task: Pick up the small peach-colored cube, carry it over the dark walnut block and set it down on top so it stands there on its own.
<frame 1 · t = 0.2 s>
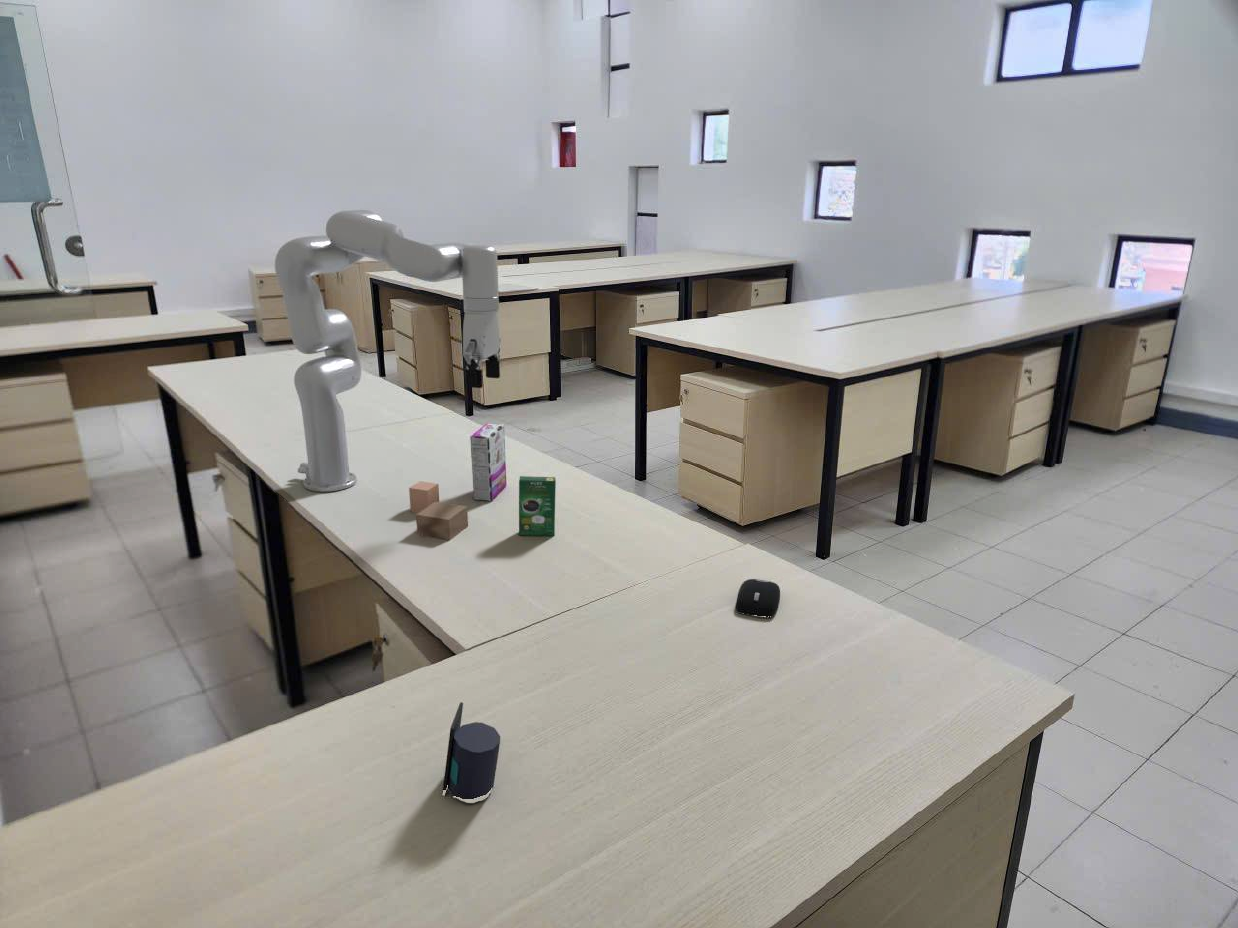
hand: (484, 382, 182), 30 cm above the table, tool pointing down, fingers open, 9 cm apart
peach-colored cube: (425, 509, 191), on the table
speaker: (473, 787, 105), on the table
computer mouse: (758, 604, 152), on the table
walnut block: (443, 531, 180), on the table
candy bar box: (489, 494, 202), on the table
coffee box: (537, 534, 179), on the table
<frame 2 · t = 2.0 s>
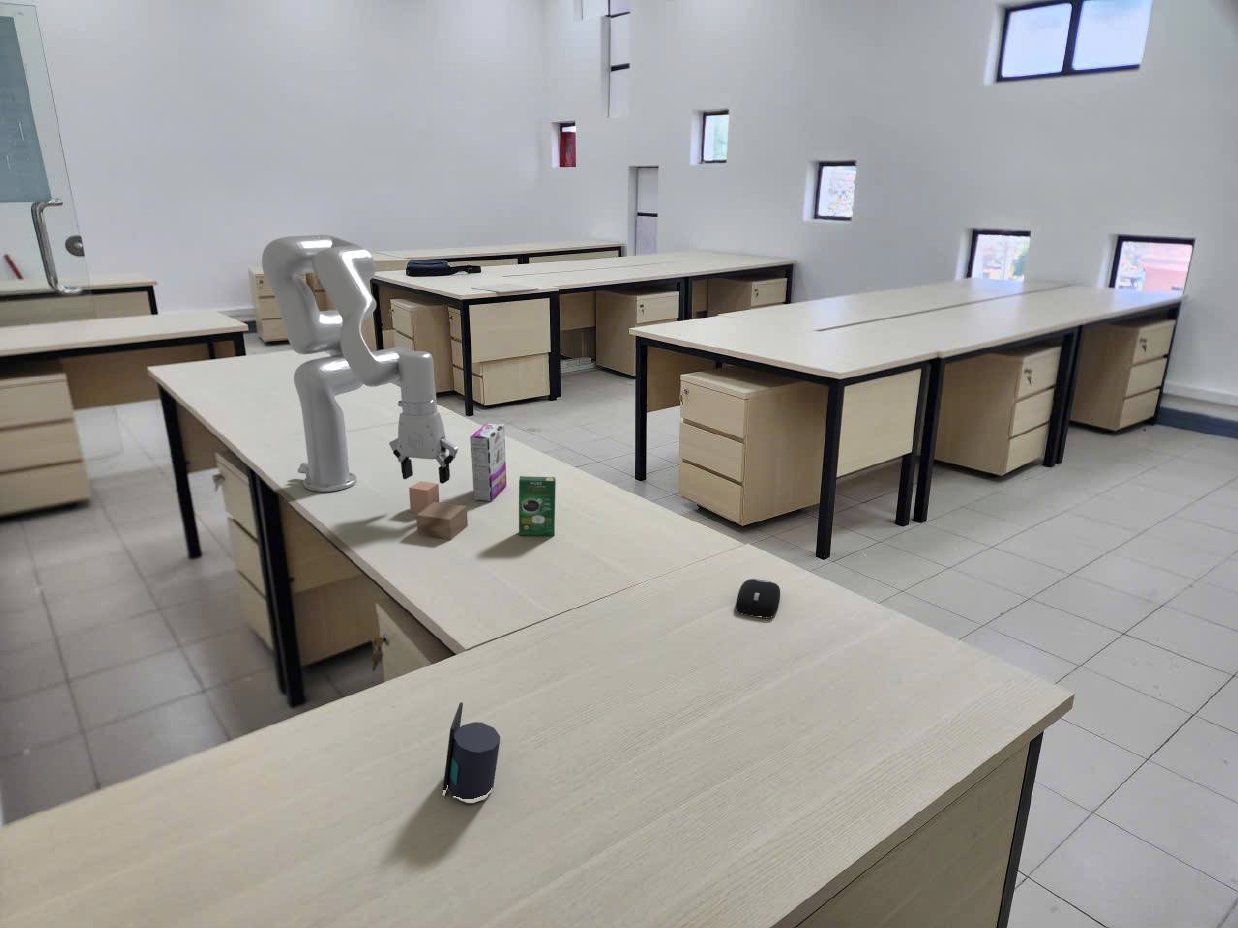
hand: (426, 479, 188), 8 cm above the table, tool pointing down, fingers open, 9 cm apart
nothing on the table moved.
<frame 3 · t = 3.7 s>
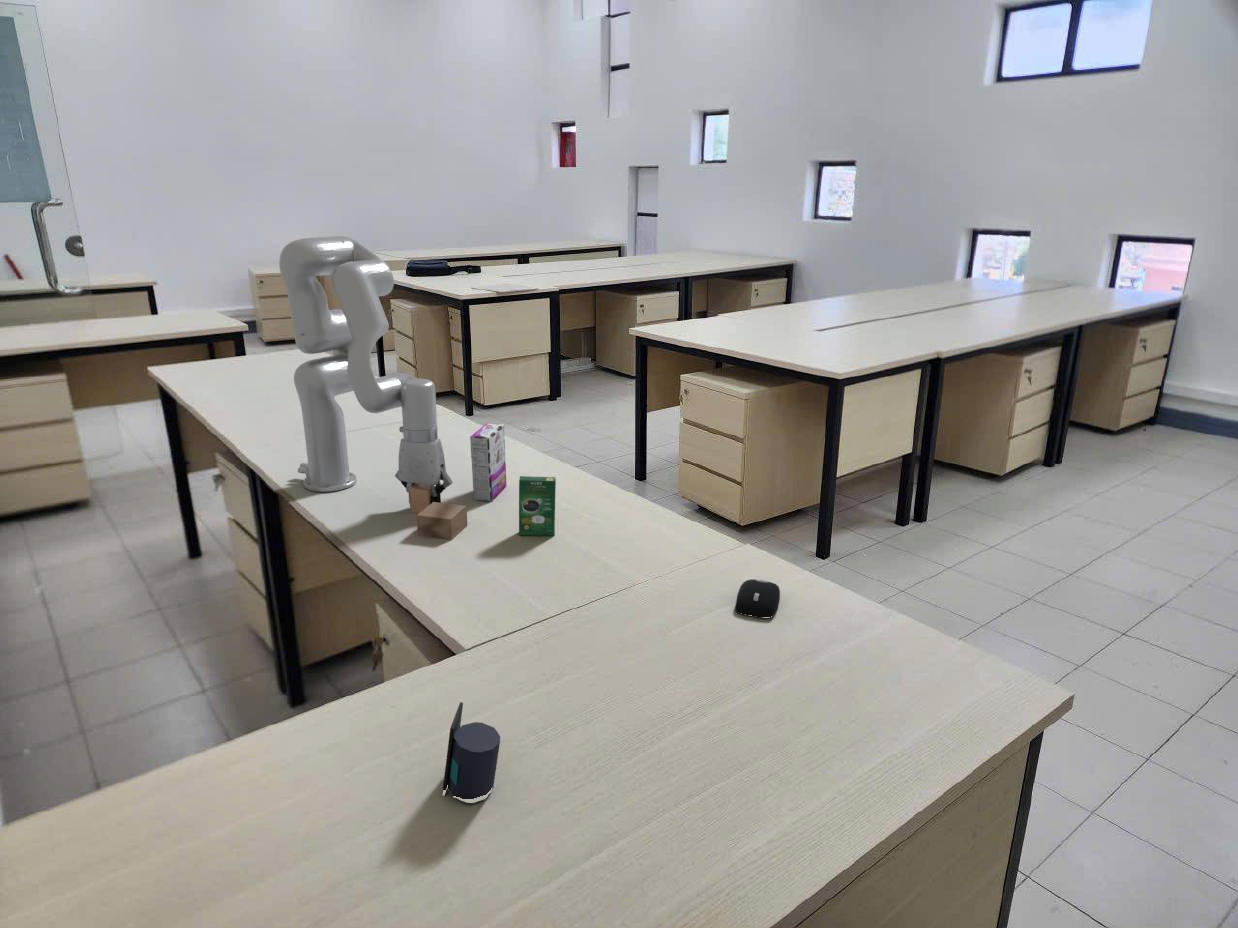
hand: (425, 507, 191), 0 cm above the table, tool pointing down, fingers closed on peach-colored cube, 4 cm apart
peach-colored cube: (425, 509, 191), on the table, touching gripper
everything else where it was.
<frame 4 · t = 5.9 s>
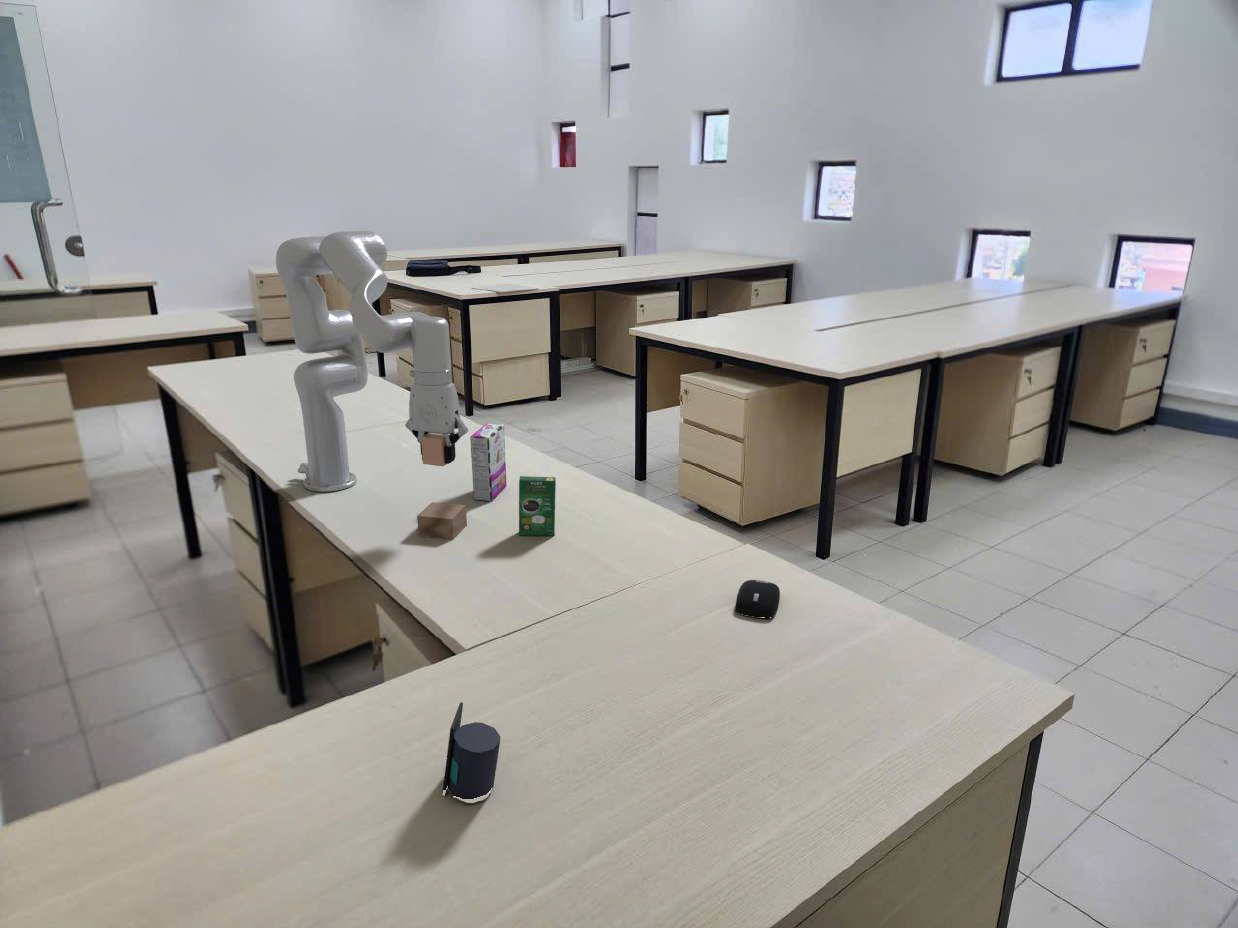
hand: (438, 459, 176), 16 cm above the table, tool pointing down, fingers closed on peach-colored cube, 4 cm apart
peach-colored cube: (438, 461, 176), point 16 cm above the table, touching gripper
everything else where it was.
when the fingers open (6 cm above the table, at t = 8.4 s): peach-colored cube drops 1 cm, resting on walnut block.
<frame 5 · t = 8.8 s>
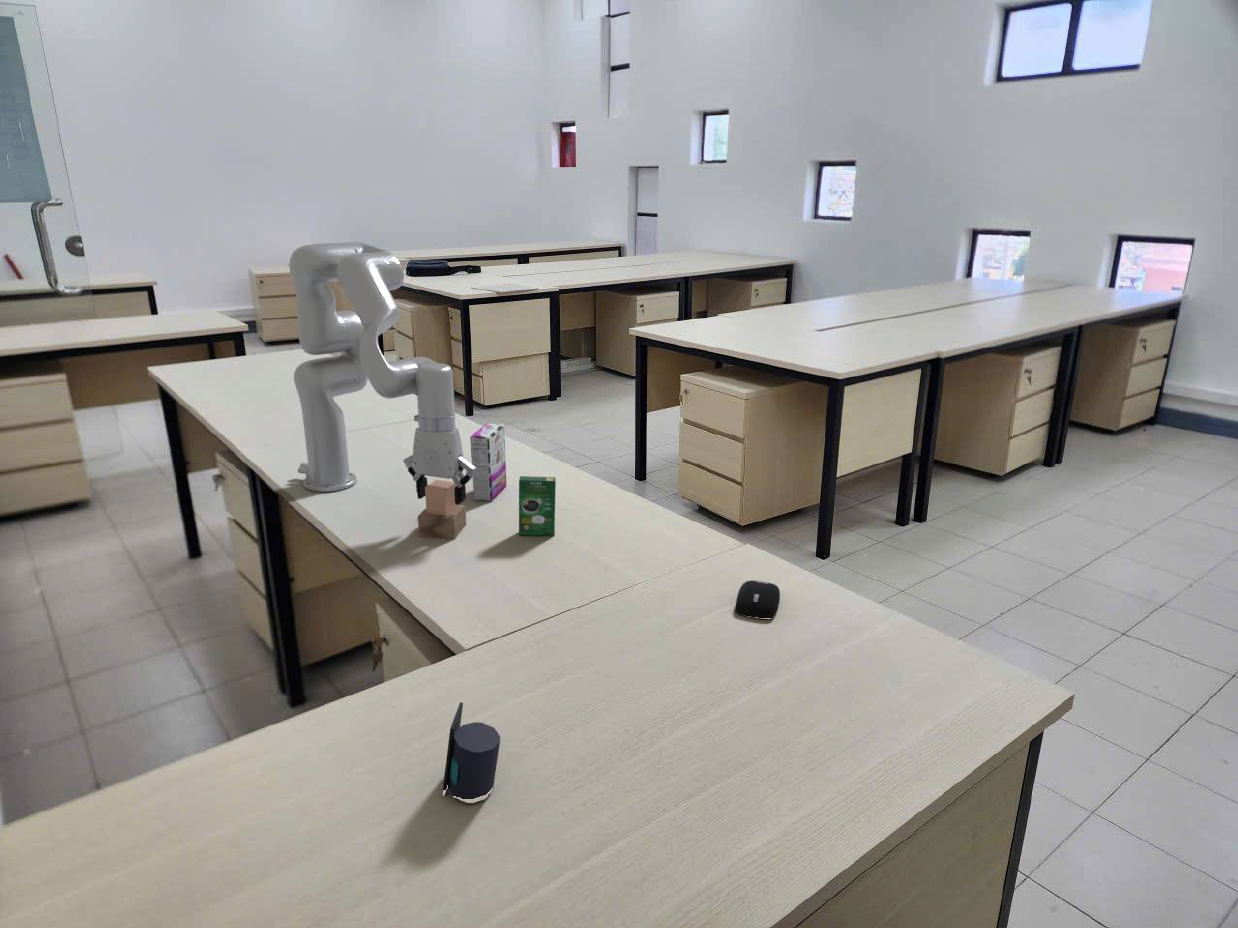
hand: (441, 499, 178), 7 cm above the table, tool pointing down, fingers open, 8 cm apart
peach-colored cube: (442, 510, 178), point 5 cm above the table, touching walnut block
walnut block: (443, 531, 180), on the table, touching peach-colored cube
everything else where it was.
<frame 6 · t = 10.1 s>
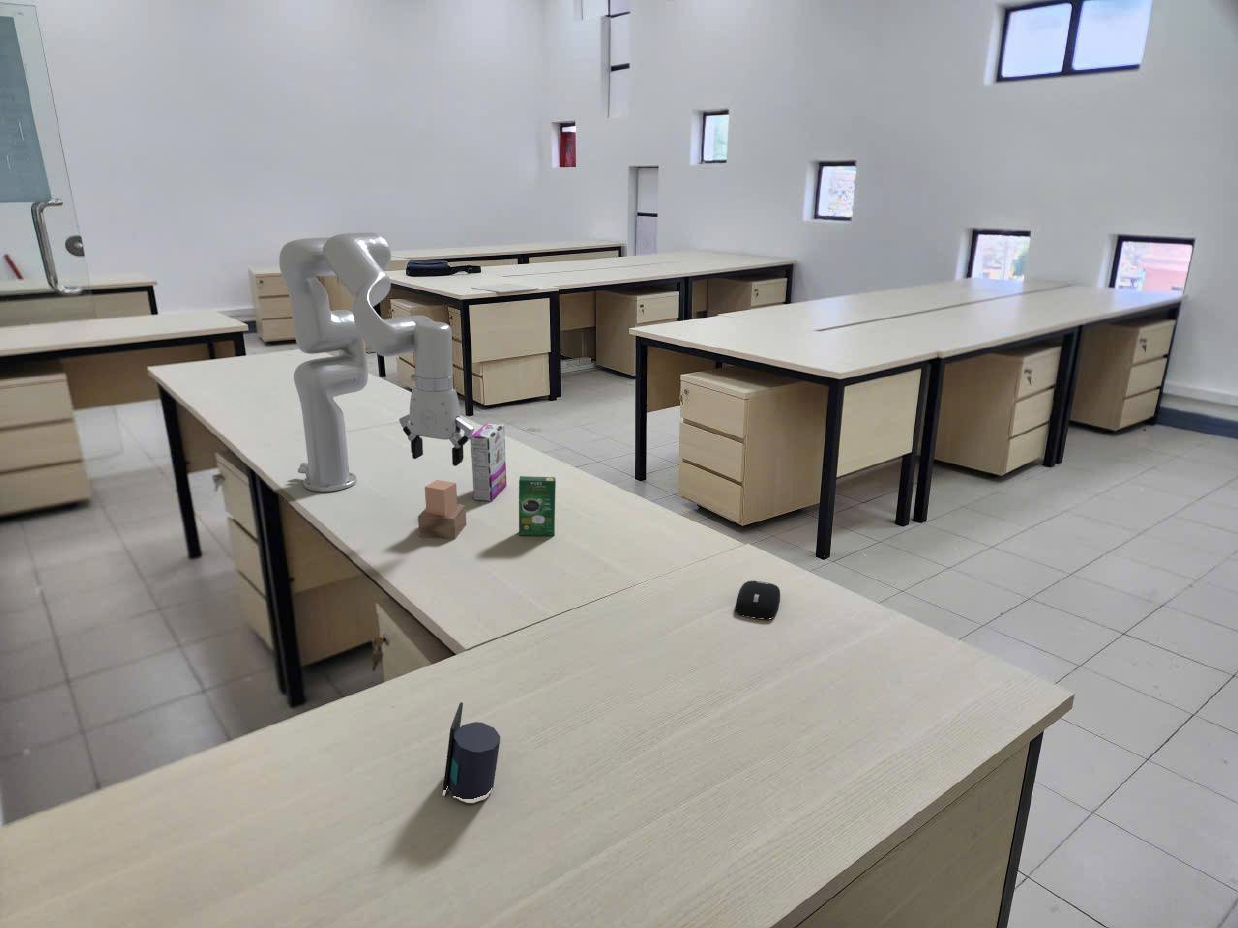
hand: (437, 460, 175), 16 cm above the table, tool pointing down, fingers open, 9 cm apart
nothing on the table moved.
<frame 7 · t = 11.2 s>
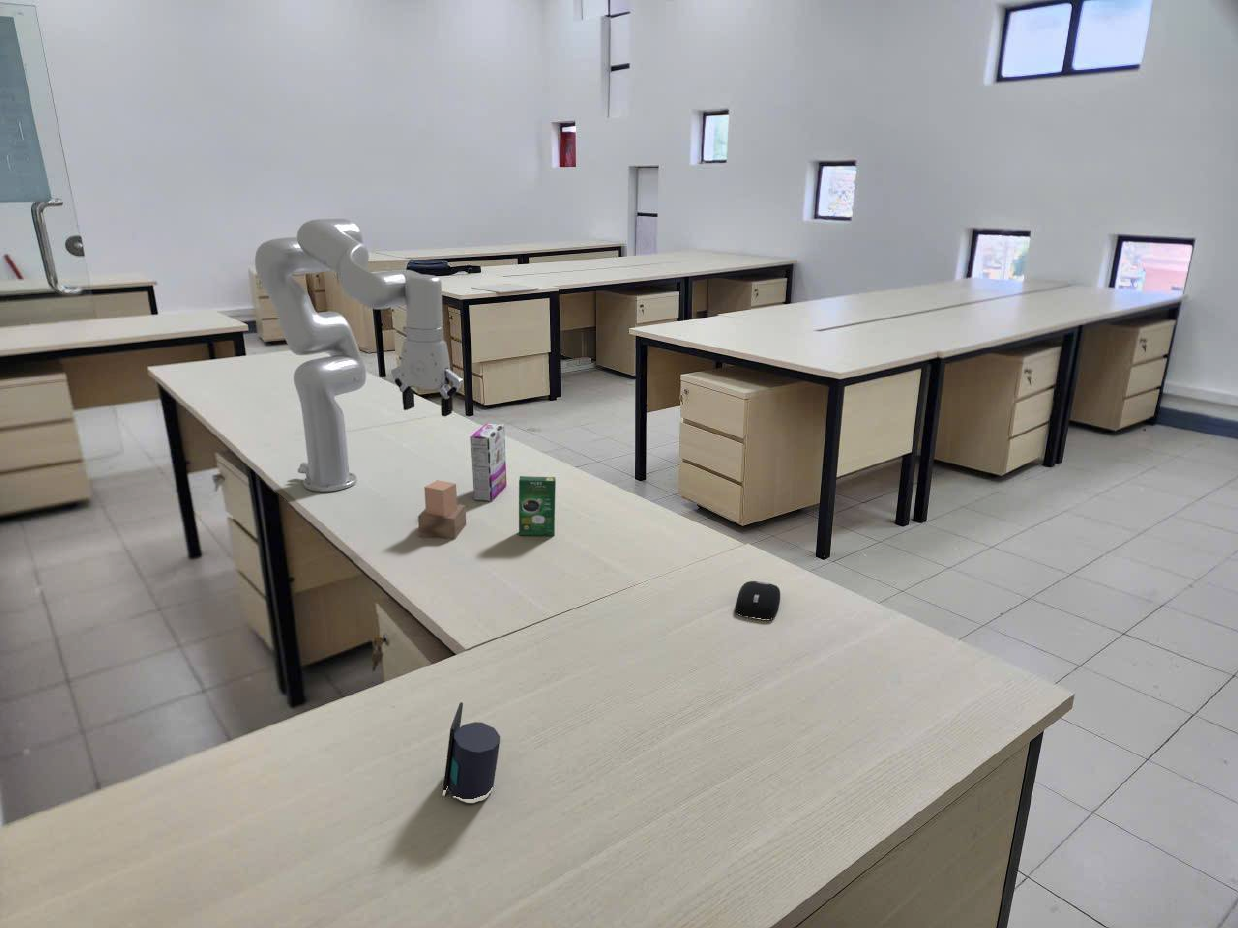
hand: (427, 411, 180), 25 cm above the table, tool pointing down, fingers open, 9 cm apart
nothing on the table moved.
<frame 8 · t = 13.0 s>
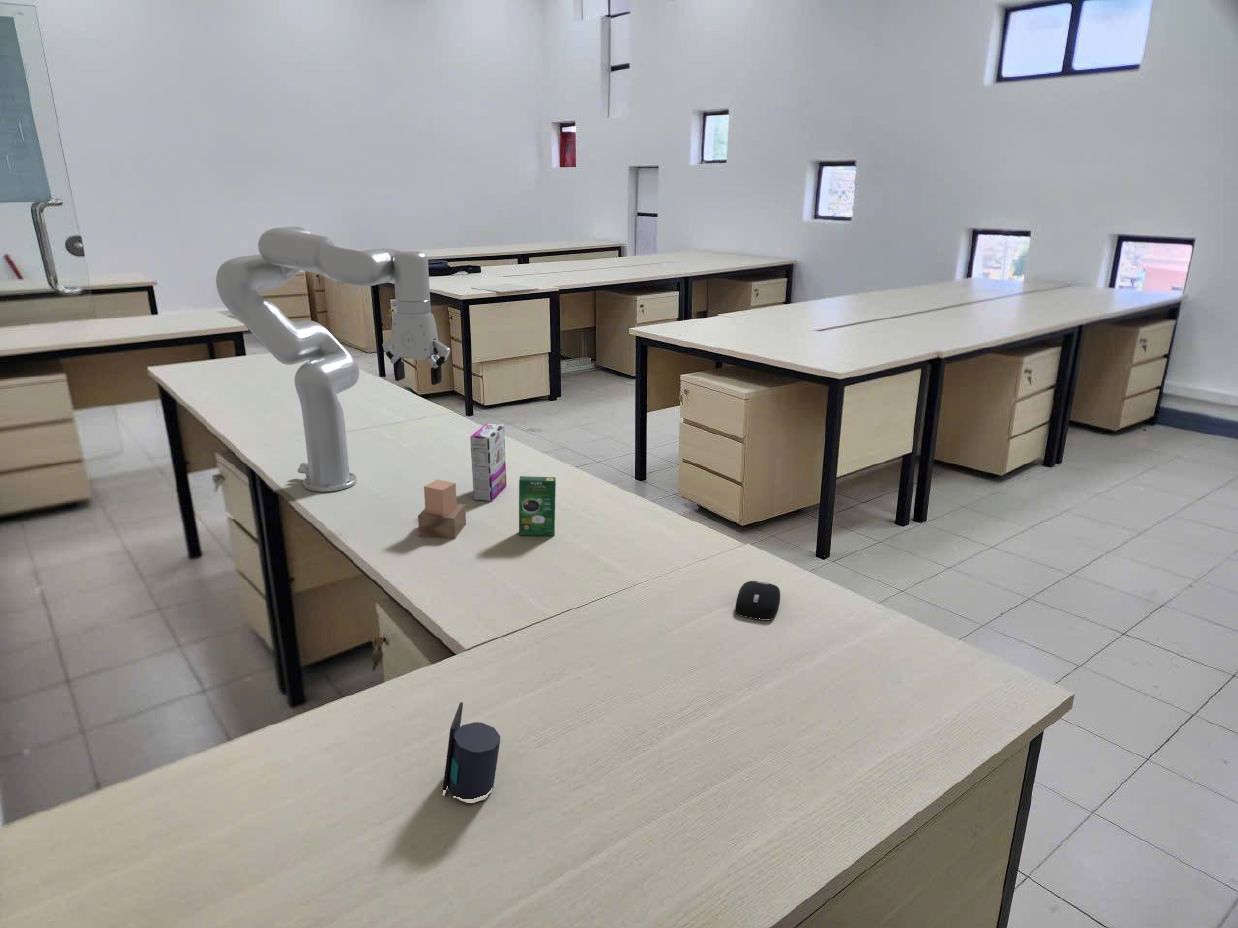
hand: (418, 381, 190), 28 cm above the table, tool pointing down, fingers open, 9 cm apart
nothing on the table moved.
at the end: peach-colored cube 0.4 cm off-centre on the walnut block, point 5.0 cm above the walnut block's base; peach-colored cube tilted 0°; the gripper is holding nothing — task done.
